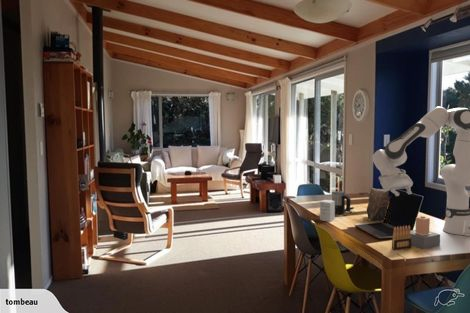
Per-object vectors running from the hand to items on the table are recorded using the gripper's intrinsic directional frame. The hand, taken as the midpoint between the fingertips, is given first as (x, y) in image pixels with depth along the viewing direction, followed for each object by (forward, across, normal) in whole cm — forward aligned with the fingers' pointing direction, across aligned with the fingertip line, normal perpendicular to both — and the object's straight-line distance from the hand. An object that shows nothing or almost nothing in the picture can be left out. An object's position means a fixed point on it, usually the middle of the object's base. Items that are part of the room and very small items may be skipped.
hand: (404, 194), depth 217 cm
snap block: (+22, 0, +4) cm, 22 cm away
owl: (-8, +16, +44) cm, 47 cm away
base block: (+26, 0, +8) cm, 27 cm away
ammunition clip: (+26, -15, +8) cm, 32 cm away
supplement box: (-18, -12, +54) cm, 58 cm away
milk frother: (-26, +11, +62) cm, 68 cm away
